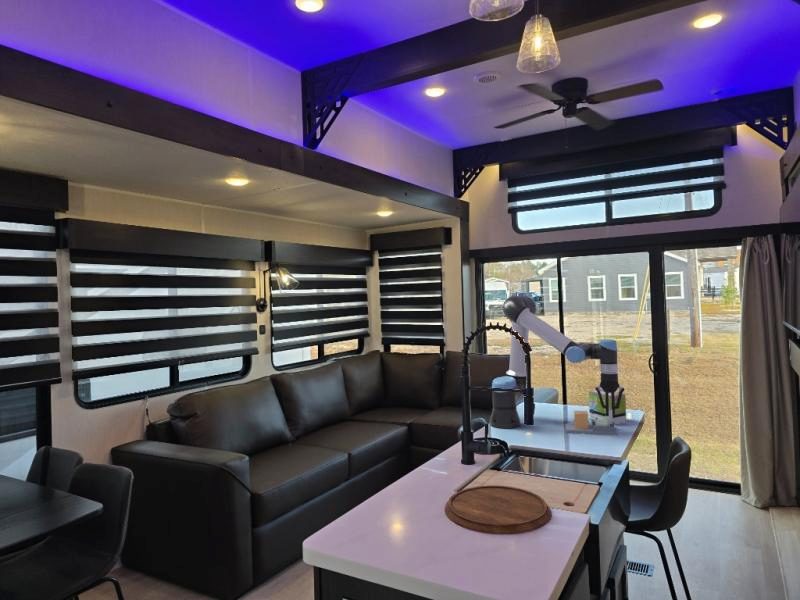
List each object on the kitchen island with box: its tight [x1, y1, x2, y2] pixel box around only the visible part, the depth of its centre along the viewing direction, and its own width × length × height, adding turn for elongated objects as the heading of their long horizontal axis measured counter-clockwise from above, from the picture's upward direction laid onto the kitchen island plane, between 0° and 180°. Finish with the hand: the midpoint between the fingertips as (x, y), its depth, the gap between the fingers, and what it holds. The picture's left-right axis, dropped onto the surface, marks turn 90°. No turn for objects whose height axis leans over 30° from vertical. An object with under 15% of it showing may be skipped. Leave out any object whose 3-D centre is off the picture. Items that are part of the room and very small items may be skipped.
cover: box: [594, 416, 610, 427], centre depth 244 cm, size 6×9×3 cm
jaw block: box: [573, 410, 589, 429], centre depth 246 cm, size 6×6×7 cm
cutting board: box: [444, 485, 552, 535], centre depth 159 cm, size 32×32×2 cm
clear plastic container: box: [565, 420, 618, 436], centre depth 245 cm, size 22×12×6 cm, turn 72°
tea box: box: [588, 388, 627, 426], centre depth 261 cm, size 15×10×15 cm
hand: (610, 423), depth 242 cm, fingers closed
